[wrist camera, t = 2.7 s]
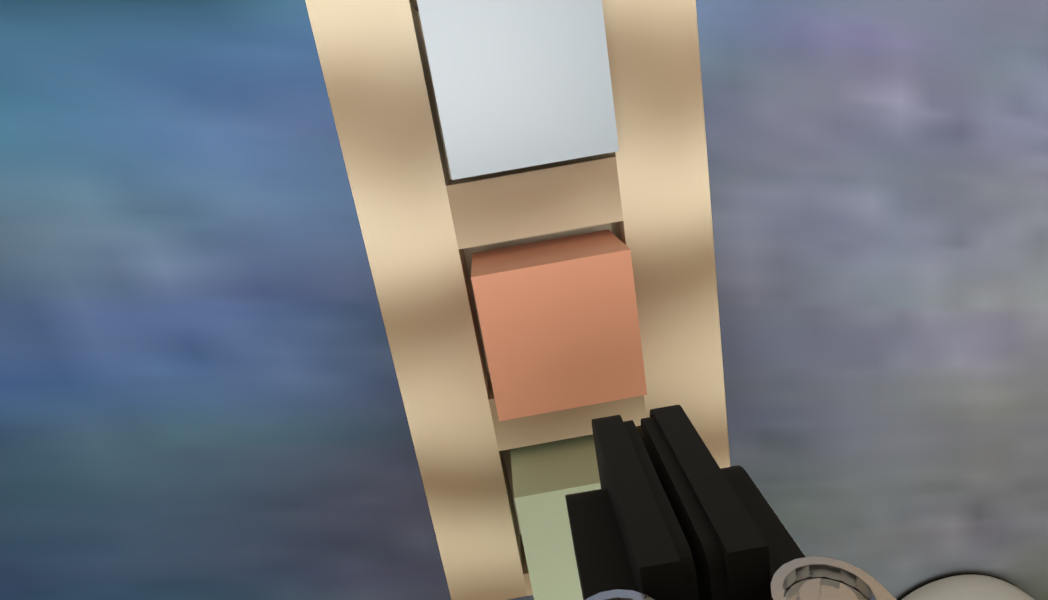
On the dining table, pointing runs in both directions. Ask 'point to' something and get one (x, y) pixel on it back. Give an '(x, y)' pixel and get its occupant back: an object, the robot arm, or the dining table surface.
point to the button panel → (514, 219)
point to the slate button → (519, 82)
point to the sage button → (552, 510)
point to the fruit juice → (968, 589)
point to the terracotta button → (559, 323)
